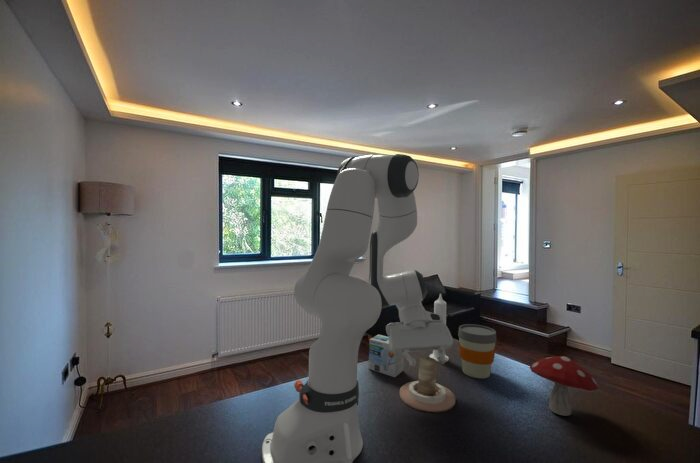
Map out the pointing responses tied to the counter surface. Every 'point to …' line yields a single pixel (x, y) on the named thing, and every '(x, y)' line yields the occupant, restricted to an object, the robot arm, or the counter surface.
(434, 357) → the candle
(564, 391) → the decorative mushroom
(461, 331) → the reusable coffee cup
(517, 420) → the counter surface
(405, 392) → the collar dish
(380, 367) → the light bulb box
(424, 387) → the beige cylinder
